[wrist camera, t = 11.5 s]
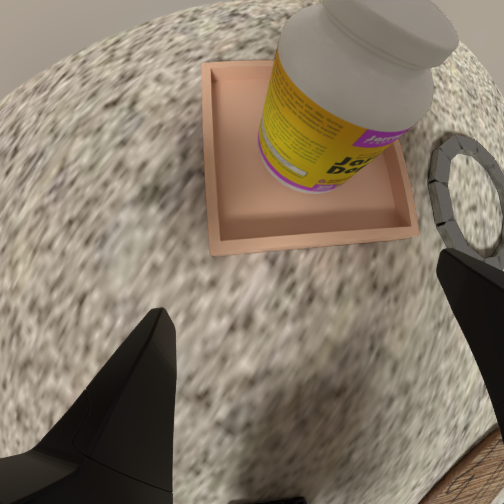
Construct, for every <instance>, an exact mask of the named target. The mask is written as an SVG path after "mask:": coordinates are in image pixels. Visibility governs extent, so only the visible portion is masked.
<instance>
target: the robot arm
mask: <svg viewBox="0 0 504 504" xmlns="http://www.w3.org/2000/svg"><path fill="white" fill-rule="evenodd" d="M436 274H437V277H438V279H439V281H440V284H441V286H442V288H443V290H444V293H445V295H446V297H447V300H448V302H449V304H450V307H451V309H452V311H453V313H454V315H455V318H456V319H457V321H458V323H459V325H460V327H461V330H462V332H463V334H464V336H465V338H466V340H467V342H468V344H469V346H470V349H471V351H472V353H473V355H474V358H475V360H476V362H477V365H478V367H479V370H480V372H481V375H482V377H483V380H484V383H485V385H486V388H487V391H488V393H489V396H490V399H491V402H492V405H493V408H494V412H495V415H496V418H497V422H498V425H499V429H500V433H501V436H502V440H503V445H504V271H502V270H500V269H498V268H496V267H494V266H491V265H489V264H487V263H485V262H483V261H481V260H479V259H476V258H474V257H472V256H470V255H468V254H465V253H463V252H461V251H459V250H456V249H454V248H446V249H443V250H442V251H441V252H440V255H439V260H438V264H437V268H436ZM176 379H177V364H176V330H175V326H174V324H173V322H172V320H171V318H170V316H169V315H168V313H167V311H166V309H165V308H163V307H160V308H153V309H151V310H150V311H149V312H148V313H147V314H146V316H145V317H144V318H143V319H142V320H141V321H140V323H139V324H138V325H137V326H136V327H135V329H134V330H133V331H132V332H131V333H130V334H129V336H128V337H127V338H126V339H125V340H124V342H123V343H122V344H121V345H120V346H119V348H118V349H117V350H116V351H115V352H114V354H113V355H112V356H111V357H110V359H109V360H108V361H107V362H106V363H105V365H104V366H103V367H102V368H101V370H100V371H99V372H98V373H97V375H96V376H95V377H94V378H93V380H92V381H91V382H90V383H89V385H88V386H87V387H86V390H84V391H83V392H82V393H81V395H80V396H79V397H78V399H77V400H76V401H75V402H74V403H73V405H72V406H71V407H70V408H69V410H68V411H67V412H66V413H65V414H64V415H63V416H62V418H61V419H60V420H59V421H58V422H57V423H56V424H55V425H54V426H53V428H52V429H51V430H50V431H49V432H48V433H47V434H46V435H45V436H44V437H43V439H42V440H41V441H40V442H39V443H38V444H37V445H36V446H35V447H34V448H32V449H31V450H29V451H27V452H25V453H22V454H18V455H14V456H9V457H5V458H0V504H173V493H172V492H173V488H172V474H173V432H174V411H175V394H176ZM300 501H301V502H300ZM256 504H307V502H306V499H305V498H304V497H297V498H292V499H286V500H280V501H273V502H265V503H256ZM503 504H504V503H503Z"/></svg>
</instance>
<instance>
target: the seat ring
mask: <svg viewBox="0 0 504 504" xmlns="http://www.w3.org/2000/svg"><path fill="white" fill-rule="evenodd" d="M458 153H459V154H464V155H469V156H472V157H473V158H474V159H475V160H476V161H478V162H479V163H480V164H481V165H482V166H483V167H484V168H485V169H486V170H487V172H488V173H489V175H490V177H491V179H492V181H493V183H494V185H495V187H496V189H497V191H498V194H499V198H500V203H501V208H502V213H503V227H502V236H501V242H500V244H499V245H498V247H497V249H496V250H495V252H494V254H493V255H492V257H489V258H482V257H481V256H480V255H479V254H478V253H476V252H475V251H474V250H473V249H471V248H470V247H469V246H468V245H467V243H466V241H465V238H464V236H463V234H462V232H461V230H460V228H459V226H458V224H457V222H456V220H455V219H454V214H453V209H452V203H451V198H450V194H449V189H448V180H449V172H450V164H451V160H452V159H453V158H454V157H455V156H456V155H457V154H458ZM428 183H430V184H429V185H428V188H429V193H430V198H431V203H432V208H433V214H434V219H435V224H439V225H438V226H437V227H436V228H437V229H438V231H439V233H440V235H441V237H442V239H443V241H444V243H445V244H446V246H447V248H454V249H456V250H459V251H461V252H463V253H465V254H468V255H470V256H472V257H474V258H476V259H479V260H481V261H483V262H485V263H487V264H489V265H491V266H494V267H496V268H498V269H500V270H503V269H504V175H503V173H502V171H501V169H500V167H499V165H498V163H497V161H496V160H495V159H494V157H493V156H492V155H491V154H490V153H489V152H488V151H487V150H486V149H485V148H484V147H483V146H482V145H481V144H480V143H479V142H478V141H477V140H476V141H475V139H472V138H468V137H464V136H460V135H453V136H451V137H450V138H448V139H447V140H446V141H445V142H444V143H442V144H441V145H440V146H439V147H438V148H436V149H435V150H434V152H433V153H432V160H431V166H430V172H429V178H428Z"/></svg>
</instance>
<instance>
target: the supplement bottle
mask: <svg viewBox="0 0 504 504" xmlns="http://www.w3.org/2000/svg"><path fill="white" fill-rule="evenodd" d="M458 43H459V39H458V35H457V32H456V30H455V28H454V26H453V25H452V23H451V22H450V20H449V19H448V18H447V17H446V15H445V14H444V13H443V12H442V11H441V10H440V9H439V8H438V7H437V6H436V5H435V4H434V3H433V2H432V1H431V0H322V4H316V5H312V6H308V7H306V8H303V9H301V10H300V11H298V12H296V13H295V14H294V15H292V16H291V17H290V18H289V20H288V21H287V22H286V23H285V25H284V27H283V29H282V32H281V35H280V39H279V42H278V46H277V50H276V55H275V60H274V64H273V69H272V73H271V77H270V82H269V86H268V90H267V95H266V99H265V104H264V108H263V113H262V117H261V122H260V126H259V132H258V140H257V143H258V151H259V154H260V157H261V160H262V162H263V164H264V166H265V167H266V169H267V170H268V171H269V173H270V174H271V175H272V176H273V177H274V178H275V179H276V180H278V181H279V182H280V183H282V184H283V185H285V186H287V187H288V188H291V189H293V190H295V191H298V192H302V193H308V194H321V193H326V192H330V191H332V190H335V189H337V188H338V187H340V186H341V185H343V184H344V183H345V182H347V181H348V180H349V179H350V178H352V177H353V176H354V175H355V174H357V173H358V172H359V171H360V170H361V169H363V168H364V167H365V166H366V165H367V164H369V163H370V162H371V161H372V160H373V159H374V158H376V157H377V156H378V155H379V154H381V153H382V152H383V151H384V150H385V149H386V148H388V147H389V146H390V145H391V144H392V143H393V142H395V141H396V140H397V139H398V138H399V137H401V136H402V135H403V134H404V133H405V132H407V131H408V130H409V129H410V128H411V127H413V126H414V125H415V124H416V123H417V122H418V121H420V120H421V119H422V118H423V117H424V116H425V114H426V113H427V112H428V110H429V108H430V106H431V103H432V100H433V94H434V83H433V78H432V74H431V71H430V68H432V67H437V66H440V65H441V64H442V63H443V62H444V61H445V60H446V59H447V58H448V56H449V55H450V54H451V53H452V52H453V51H454V50H455V49H456V48H457V46H458Z"/></svg>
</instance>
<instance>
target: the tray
mask: <svg viewBox="0 0 504 504" xmlns="http://www.w3.org/2000/svg"><path fill="white" fill-rule="evenodd" d="M273 64H274V61H272V60H250V61H225V62H211V63H202V118H203V148H204V171H205V189H206V206H207V221H208V235H209V248H210V254H211V255H212V256H213V257H215V256H226V255H237V254H248V253H260V252H271V251H282V250H293V249H304V248H315V247H326V246H338V245H349V244H360V243H371V242H382V241H393V240H402V239H406V238H410V237H414V236H418V235H420V234H419V227H418V221H417V215H416V209H415V204H414V199H413V194H412V189H411V184H410V180H409V175H408V171H407V167H406V163H405V159H404V155H403V152H402V148H401V144H400V141H399V138H398V139H397V140H396V141H395V142H393V143H392V144H391V145H390V146H389V147H388V148H386V149H385V150H384V151H383V152H382V153H381V154H379V155H378V156H377V157H376V158H374V159H373V160H372V161H371V162H370V163H369V164H367V165H366V166H365V167H364V168H363V169H361V170H360V171H359V172H358V173H357V174H355V175H354V176H353V177H352V178H350V179H349V180H348V181H347V182H345V183H344V184H343V185H341V186H340V187H338V188H337V189H335V190H332V191H330V192H326V193H321V194H308V193H302V192H298V191H295V190H293V189H291V188H288V187H287V186H285V185H283V184H282V183H280V182H279V181H278V180H276V179H275V178H274V177H273V176H272V175H271V174H270V173H269V171H268V170H267V169H266V167H265V166H264V164H263V162H262V160H261V157H260V154H259V151H258V143H257V140H258V132H259V126H260V122H261V117H262V113H263V108H264V104H265V99H266V95H267V90H268V86H269V82H270V77H271V73H272V69H273Z"/></svg>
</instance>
